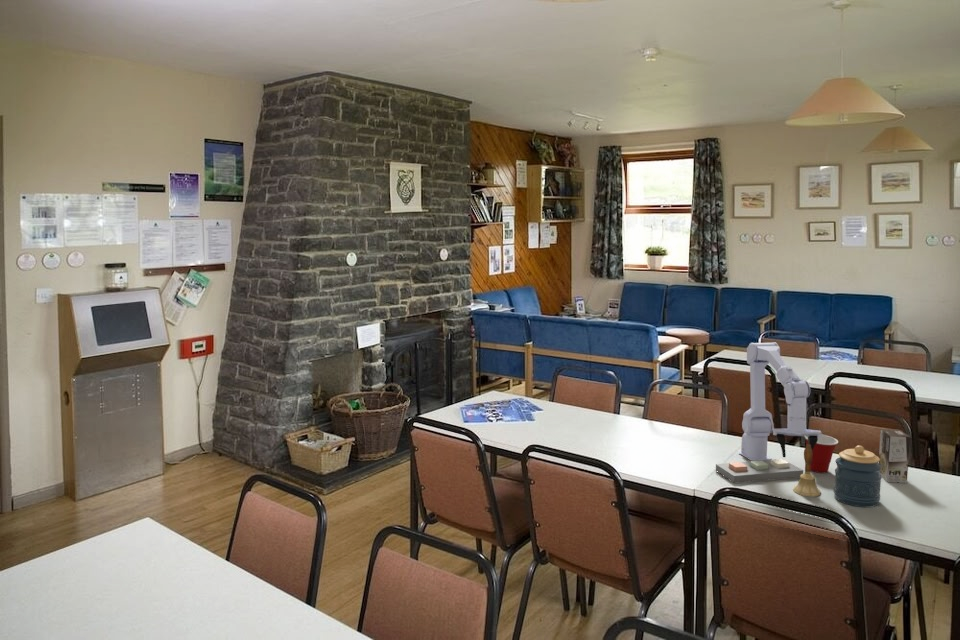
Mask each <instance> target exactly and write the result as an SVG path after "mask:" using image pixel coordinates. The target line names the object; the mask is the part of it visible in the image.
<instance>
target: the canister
mask: <svg viewBox="0 0 960 640" xmlns="http://www.w3.org/2000/svg"><path fill="white" fill-rule="evenodd" d="M838 456H839V457H837V458H836V459H835V464H836V468H835V469H834V474H835V476H834V488H833V494H834V498H835V499H836V500H837V501H839V502H841V503H844V504H846V505H849V506H855V507H862V508H865V507H867V508H868V507H869V508H872V507H875V506H878V505H879V503H880V501H881V486H882V485H881V482H882V478H883V477H882V476H881V475H880V470H881V469H882V465H881V464H880V463H879V461H880V459H879V456H878V455H876V454H875V453H874V452H872V451H869V450H866V449H865V447H864V446H862V445H856V446H855V447H854V448H847V449H844V450H842V451H840V452H839V453H838Z"/></svg>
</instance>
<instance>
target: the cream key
mask: <svg viewBox="0 0 960 640" xmlns="http://www.w3.org/2000/svg"><path fill="white" fill-rule="evenodd" d="M788 462H789V461H787V460H785V459H784V458H777V459H772V460H771V461H770V464H771V465H772V466H774V467H776V468H789V463H790V462H789V463H788Z"/></svg>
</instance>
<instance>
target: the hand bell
mask: <svg viewBox="0 0 960 640" xmlns="http://www.w3.org/2000/svg"><path fill="white" fill-rule="evenodd" d="M812 456H813V452H812V448H811V445H810V444H805V448H804V451H803V459H804V462H805V465H804V472H803V474H801V475H800V478H799V480H798V483H797V484H796V485H795V486H794V487H793V489H792V490H793V492H794V493H795V494H797V495H799V496H804V497H819V496H821V495H822V492H821V490H820V489H819V488H818V486H817V483H816V477H815V475H813V474H811V473H812V472H811V471H812V470H810V469H811V467H810V464H811V461H812Z"/></svg>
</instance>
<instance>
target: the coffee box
mask: <svg viewBox="0 0 960 640" xmlns="http://www.w3.org/2000/svg"><path fill="white" fill-rule="evenodd" d="M910 447H911V436H910V435H908V434H907V433H905V432H904V431H903V430H901V429H894V428H893V429H891V428H889V429H884V428H882V429H881V428H880V435H879V451H878V452H879V453H878V457H879V459H880V461H879V462H878V463H880V464H881V465H882V469H881V470H880V475H881V477H882V478H883V480H885V481H886V482H887V483H897V482H899V483H900V484H907V483H908V475H909V473H908V470H909V460H910Z"/></svg>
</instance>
